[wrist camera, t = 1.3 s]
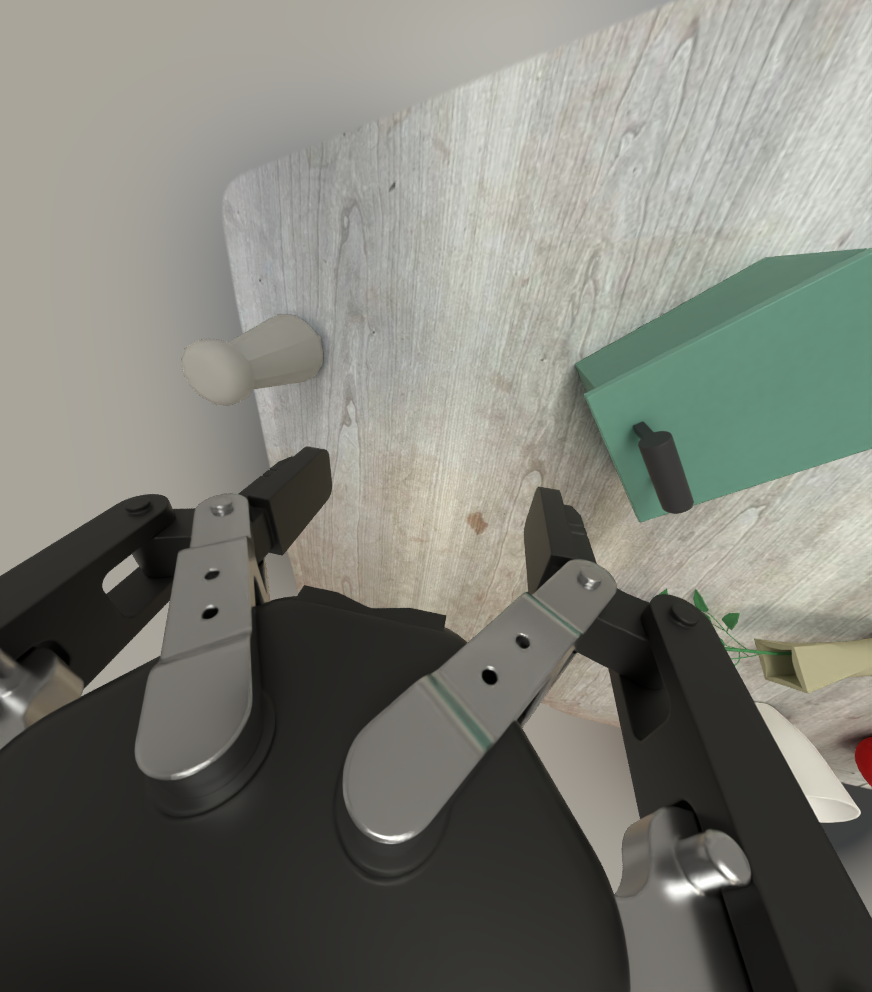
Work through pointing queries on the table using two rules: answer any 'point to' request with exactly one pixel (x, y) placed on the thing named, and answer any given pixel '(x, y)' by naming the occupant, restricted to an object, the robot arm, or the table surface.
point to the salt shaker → (253, 360)
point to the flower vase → (803, 657)
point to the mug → (810, 770)
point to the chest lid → (747, 397)
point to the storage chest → (705, 313)
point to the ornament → (865, 759)
